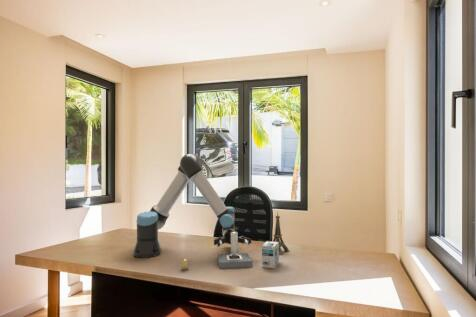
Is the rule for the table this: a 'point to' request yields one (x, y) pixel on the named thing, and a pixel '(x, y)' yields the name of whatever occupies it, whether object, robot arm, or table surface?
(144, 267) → the table surface
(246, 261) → the flat grey box
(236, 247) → the steel pin
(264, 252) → the light bulb box
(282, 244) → the eiffel tower
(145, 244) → the robot arm
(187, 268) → the brass pin
